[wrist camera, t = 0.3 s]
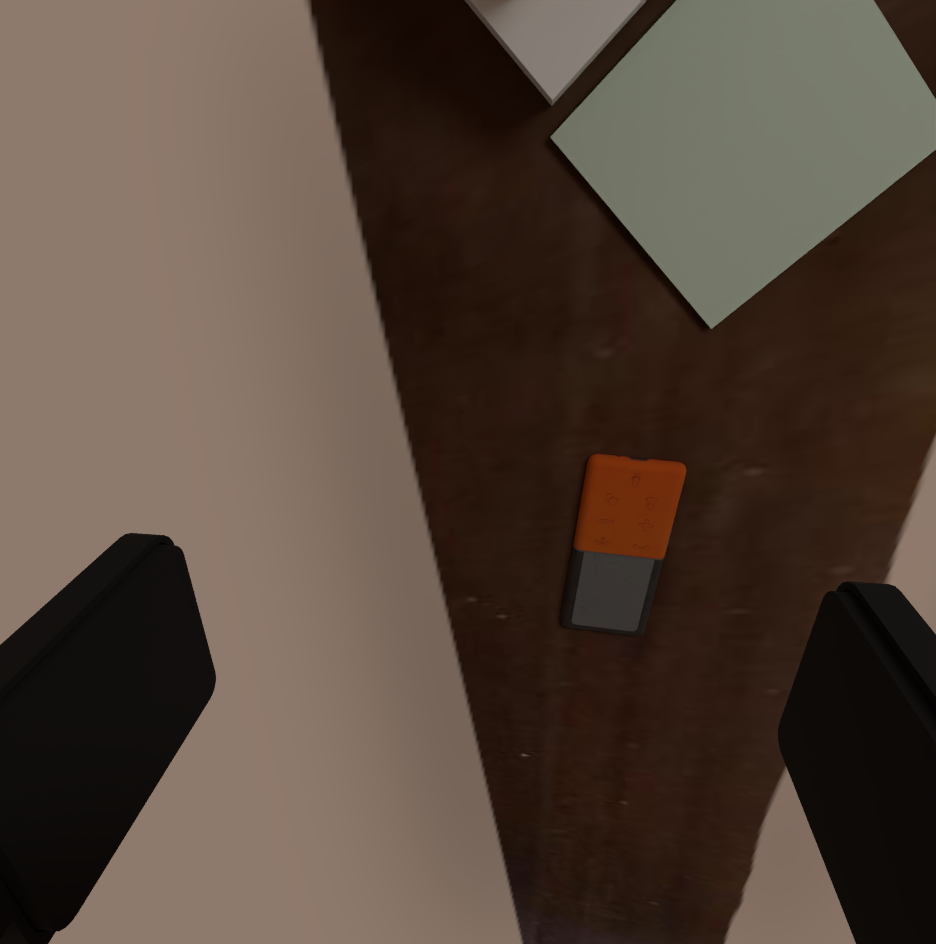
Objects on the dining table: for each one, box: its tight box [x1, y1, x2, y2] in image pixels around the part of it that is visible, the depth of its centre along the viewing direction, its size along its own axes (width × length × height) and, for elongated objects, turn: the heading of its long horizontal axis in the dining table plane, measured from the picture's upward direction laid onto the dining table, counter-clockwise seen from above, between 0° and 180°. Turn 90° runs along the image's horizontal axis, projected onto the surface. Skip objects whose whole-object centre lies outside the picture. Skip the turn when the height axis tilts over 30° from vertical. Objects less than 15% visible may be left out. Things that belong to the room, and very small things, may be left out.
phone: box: [561, 454, 686, 636], centre depth 43 cm, size 6×1×15 cm
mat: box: [550, 0, 936, 329], centre depth 31 cm, size 14×14×1 cm
